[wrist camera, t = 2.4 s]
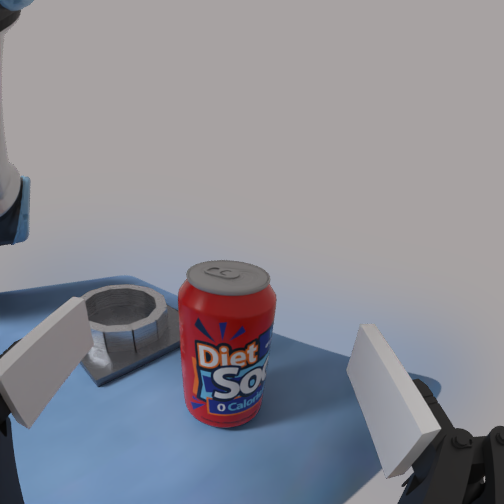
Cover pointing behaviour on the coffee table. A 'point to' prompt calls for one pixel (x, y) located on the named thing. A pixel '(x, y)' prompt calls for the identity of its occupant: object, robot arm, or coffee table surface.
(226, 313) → the soda can
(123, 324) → the housing
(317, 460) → the coffee table surface
